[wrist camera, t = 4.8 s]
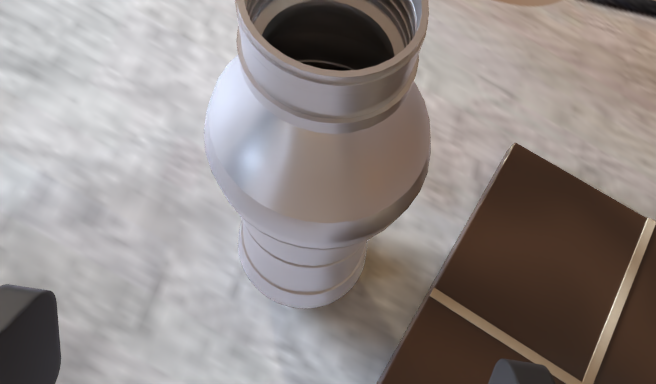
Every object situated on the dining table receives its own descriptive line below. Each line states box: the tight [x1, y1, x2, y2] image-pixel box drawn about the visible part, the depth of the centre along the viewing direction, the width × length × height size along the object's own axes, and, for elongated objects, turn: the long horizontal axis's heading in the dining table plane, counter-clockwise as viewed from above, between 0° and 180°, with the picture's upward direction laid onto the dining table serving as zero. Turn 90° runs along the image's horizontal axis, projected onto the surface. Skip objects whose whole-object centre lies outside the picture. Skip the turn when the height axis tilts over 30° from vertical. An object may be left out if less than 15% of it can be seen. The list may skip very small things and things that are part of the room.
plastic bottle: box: [204, 0, 431, 309], centre depth 18 cm, size 6×7×20 cm
